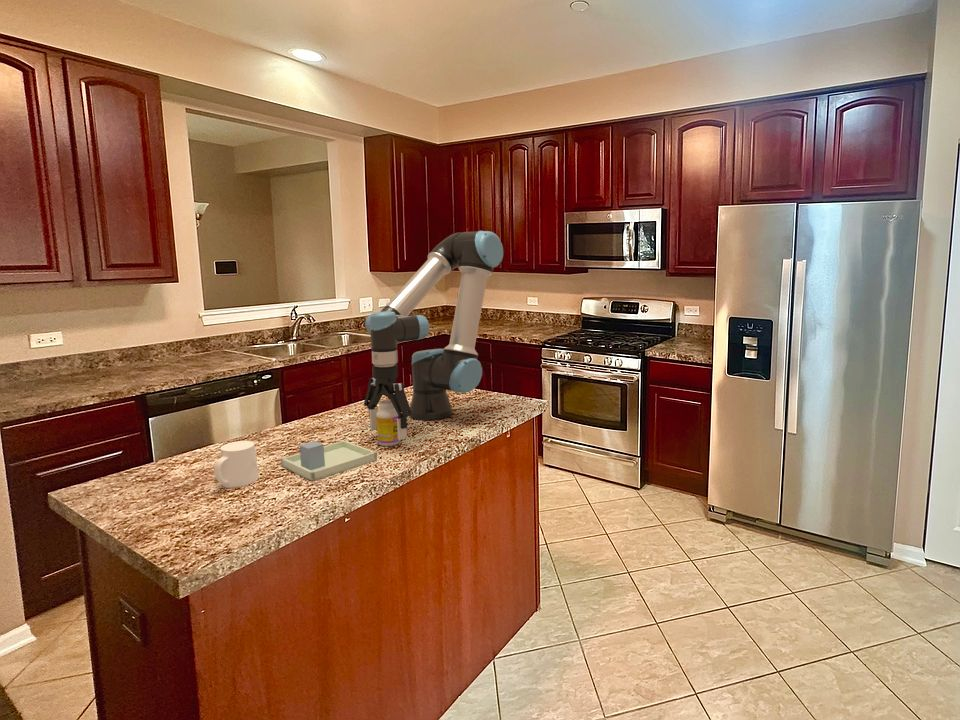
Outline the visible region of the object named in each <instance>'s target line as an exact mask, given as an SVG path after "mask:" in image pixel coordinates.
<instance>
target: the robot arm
mask: <svg viewBox="0 0 960 720" xmlns="http://www.w3.org/2000/svg"><path fill="white" fill-rule="evenodd" d="M503 258H504V246H503V243H502V242H501V238H500V237H499V236H498V235H497V234H496V233H494V232H493V231H488V230H486V231H484V230H479V231H477V230H476V231H460V232H455V233H452V234H450V235H449V236H446V238H444V239H443V240H441V241H440V242H439V243H438V244H436V246H435V247H433V249H432V250H431V251H430V252H429V253H428V254H427V260H426V261H425V262H424V263H423V264H422V266H420V268H418V270H417V271H416V272H415V273H414V274H413V275H412V276H411V277H410V278H409V280H408V281H407V282H406V283H405V284H404V285H403V286H402V287H401V288H400V290H399V291H398V292H396V293H395V295H394V296H393V297H392V298H391V299H390V300H389V302H387V304H386V305H385V306H384V307H383V308H382V309H381V310H380V311H375V312H372V313H370V314H369V315H368V316H367V317H366V318H365V319H366V320H365V325H364V326H365V329H366V331H367V333H368V334H369V335H370V348H371V364H373V365H372V367H371V370H372V371H371V374H372V377H370V378H368V387H367V391H366V394H365V398H364V401H363V405H364V407H366V408H367V410H368V418H369V430H370V431H371V432H373V431H377V418H376V414H377V412H378V411H379V407H378V405H379V402H380V401H381V399H382V398H383V396H384V397H386V398H387V400H391V402H392V404H393V406H394V408H395V410H396V412H397V414H398V418H397V429H398V440H400V441H401V440H403V439H407V438H408V435H407V434H408V433H407V431H408V430H407V429H408V417H410V418H412V419H415V420H421V421H435V420H441V419H446V418H448V417H451V416H452V414H453V408H452V405H451V403H450V398H449V396H448V394H447V391H451V392H454V393H461V394H462V393H463V394H465V393H470V392H472V391H473V390H474V389H476V388H477V386H478V385H479V384H480V382H481V380H482V377H483V366H482V364H481V362H480V360H478V357H479V353H478V352H477V350H476V348H475V347H476V343H477V342H476V341H477V337H478V332H479V331H478V329H479V325H480V320H481V316H482V315H481V314H482V309H483V302H484V297H485V292H486V286H487V282H488V281H487V280H488V278H490V277H492V276H493V273H494V268H496V267H498V266H499V265H500V264H501V263H502V261H503ZM457 268H458V270H459V272H460V274H461V277H460V282H459V288H458V293H457V299H456V304H455V310H454V316H453V323H452V326H451V327H452V328H451V331H450V333H451V334H450V338H449V344H448V345H446V346H445V347H444V348H433V349H425V350H419V351H415V352H413V354H412V355H411V363H410V364H411V373H412V374H411V376H412V379H411V380H412V398H411V402H410V404H409V401H408V398H407V396H406V391H405V386H404V385H405V384H404V383H403V382H400V383H397V378H398V377H399V365H398V362H399V356H398V343H403V342H410V341H411V342H412V341H418V340H423V339H425V338H426V337H428V334H429V333H430V323H429V321H428V319H427V317H425V316H424V315H421V314H413V315H410V314H411V313H412V312H413V311H414V309H416V307H417V306H419V304H420V303H421V302H422V301H423V299H425V297H426V296H427V295H428V294H429V292H430V291H431V290H432V289H434V287H435V286H436V285H437V283H438V282H439V281H440V280H441V279H442V278H443V277H444V276H446V275H449V274H450V273H451V272H452V271H453V270H454V269H457Z"/></svg>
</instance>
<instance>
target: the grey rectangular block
mask: <svg viewBox="0 0 960 720" xmlns="http://www.w3.org/2000/svg"><path fill="white" fill-rule="evenodd" d="M324 446H325V445H324V443H321V442H318V441H316V440H314V441H309V442H305V443H302V444H299V453H300V458H301V466H302V467H305V468H307V469H309V470H313V469H316V468H320V467H323V466H325V458H324Z"/></svg>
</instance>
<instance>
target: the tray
mask: <svg viewBox="0 0 960 720" xmlns="http://www.w3.org/2000/svg"><path fill="white" fill-rule="evenodd" d="M377 453H378V452H376V451H374V450H371V449H369V448H365V447H363V446H360V445H357V444H355V443H353V442H349V441H347V440H341V441H337V442H333V443H329V444H327V445H324V458H325V466H323V467H320V468H316V469H313V470H309V469H307V468H305V467H302V466H301V458H300V452H299V453H296V454H292V455H288V456H285V457H282V458H280V463H281V464H280V465H281V467H282V468H285V470H286V469H287V470H288V471H291V472H292V473H295V474H296V475H299V476H300V477H303V478H304V479H306V480H309V481H311V482H315V481H318V480H320V479H324V478H327V477H329V476H333V475H336V474H338V473H341V472H345V471H348V470H351V469H354V468H357V467H360V466H363V465H366V464H369V463H372V462H375V461H378V454H377Z"/></svg>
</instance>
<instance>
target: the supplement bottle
mask: <svg viewBox="0 0 960 720" xmlns="http://www.w3.org/2000/svg"><path fill="white" fill-rule="evenodd" d="M378 408H379V409H378V412H377V414H376V418H377V429H376V431H377V432H376V434H377V435H376V436H377V444H379V446H382V447H393V446H397V445H398V444H399V443H400V442H401V440H398V429H397V418H398V414H397V412H396V410H395V408H394V406H393V404H392V402H391V400H390V399H387V400H380V401H379V403H378Z"/></svg>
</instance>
